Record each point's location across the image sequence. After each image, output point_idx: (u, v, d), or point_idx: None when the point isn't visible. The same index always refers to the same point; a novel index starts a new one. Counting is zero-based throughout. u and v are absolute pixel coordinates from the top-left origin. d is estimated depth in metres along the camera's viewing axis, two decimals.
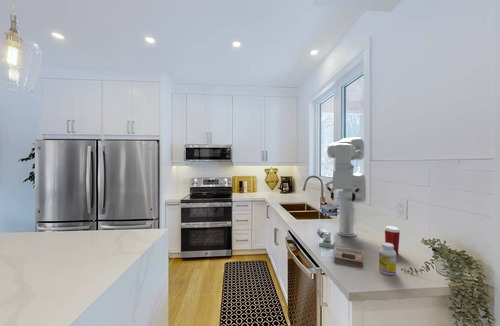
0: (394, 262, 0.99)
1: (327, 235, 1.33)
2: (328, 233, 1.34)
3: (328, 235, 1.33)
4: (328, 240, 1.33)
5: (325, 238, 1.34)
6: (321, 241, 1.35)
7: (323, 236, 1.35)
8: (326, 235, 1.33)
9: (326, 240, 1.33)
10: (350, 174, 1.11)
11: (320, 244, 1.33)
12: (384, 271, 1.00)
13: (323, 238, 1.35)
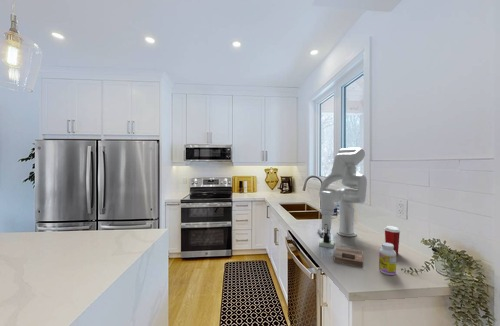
0: (394, 262, 0.99)
1: None
2: None
3: None
4: None
5: None
6: (321, 241, 1.35)
7: (323, 236, 1.35)
8: None
9: None
10: None
11: (320, 244, 1.33)
12: (384, 271, 1.00)
13: (323, 238, 1.35)
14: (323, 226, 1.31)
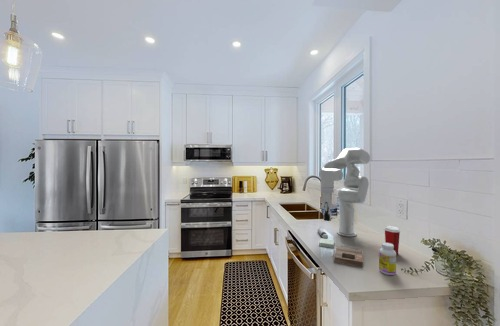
0: (394, 262, 0.99)
1: None
2: None
3: None
4: None
5: None
6: (321, 241, 1.35)
7: None
8: None
9: None
10: None
11: (320, 244, 1.33)
12: (384, 271, 1.00)
13: None
14: (323, 204, 1.31)
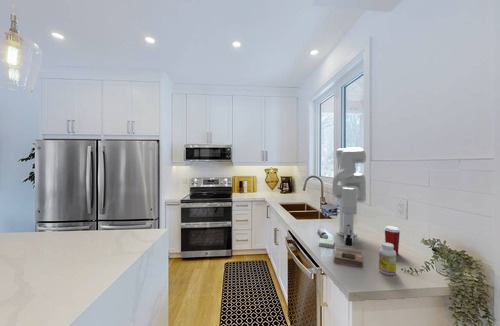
0: (394, 262, 0.99)
1: None
2: None
3: None
4: None
5: None
6: (321, 241, 1.35)
7: (344, 238, 1.19)
8: None
9: None
10: None
11: (320, 244, 1.33)
12: (384, 271, 1.00)
13: (344, 241, 1.19)
14: (345, 227, 1.15)
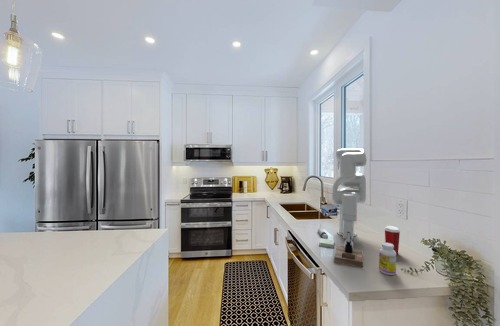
0: (394, 262, 0.99)
1: None
2: None
3: None
4: None
5: None
6: (321, 241, 1.35)
7: (344, 245, 1.19)
8: None
9: None
10: None
11: (320, 244, 1.33)
12: (384, 271, 1.00)
13: (344, 247, 1.19)
14: (345, 234, 1.15)
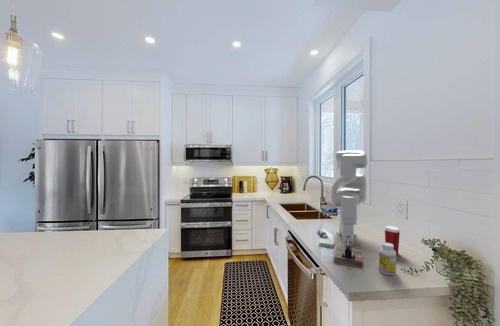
0: (394, 262, 0.99)
1: None
2: None
3: None
4: None
5: None
6: (321, 241, 1.35)
7: (344, 255, 1.13)
8: None
9: None
10: None
11: (320, 244, 1.33)
12: (384, 271, 1.00)
13: (344, 257, 1.13)
14: (345, 238, 1.09)
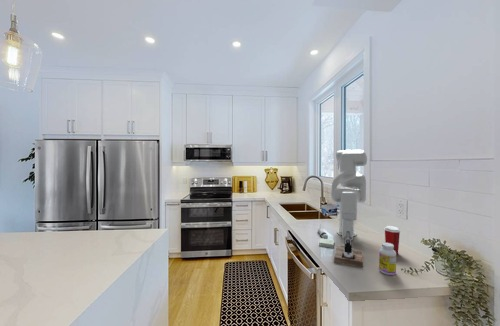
0: (394, 262, 0.99)
1: (349, 254, 1.11)
2: None
3: (350, 254, 1.11)
4: None
5: (346, 257, 1.11)
6: (321, 241, 1.35)
7: (344, 254, 1.13)
8: (348, 254, 1.11)
9: None
10: None
11: (320, 244, 1.33)
12: (384, 271, 1.00)
13: (344, 257, 1.13)
14: (345, 234, 1.09)
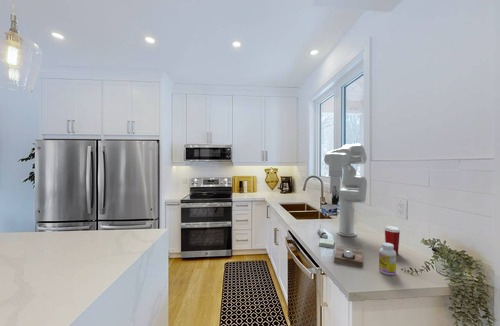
0: (394, 262, 0.99)
1: (349, 254, 1.11)
2: (350, 251, 1.12)
3: (350, 254, 1.11)
4: None
5: (346, 257, 1.12)
6: (321, 241, 1.35)
7: (344, 254, 1.13)
8: (347, 254, 1.11)
9: None
10: None
11: (320, 244, 1.33)
12: (384, 271, 1.00)
13: (344, 257, 1.13)
14: (332, 188, 1.26)
